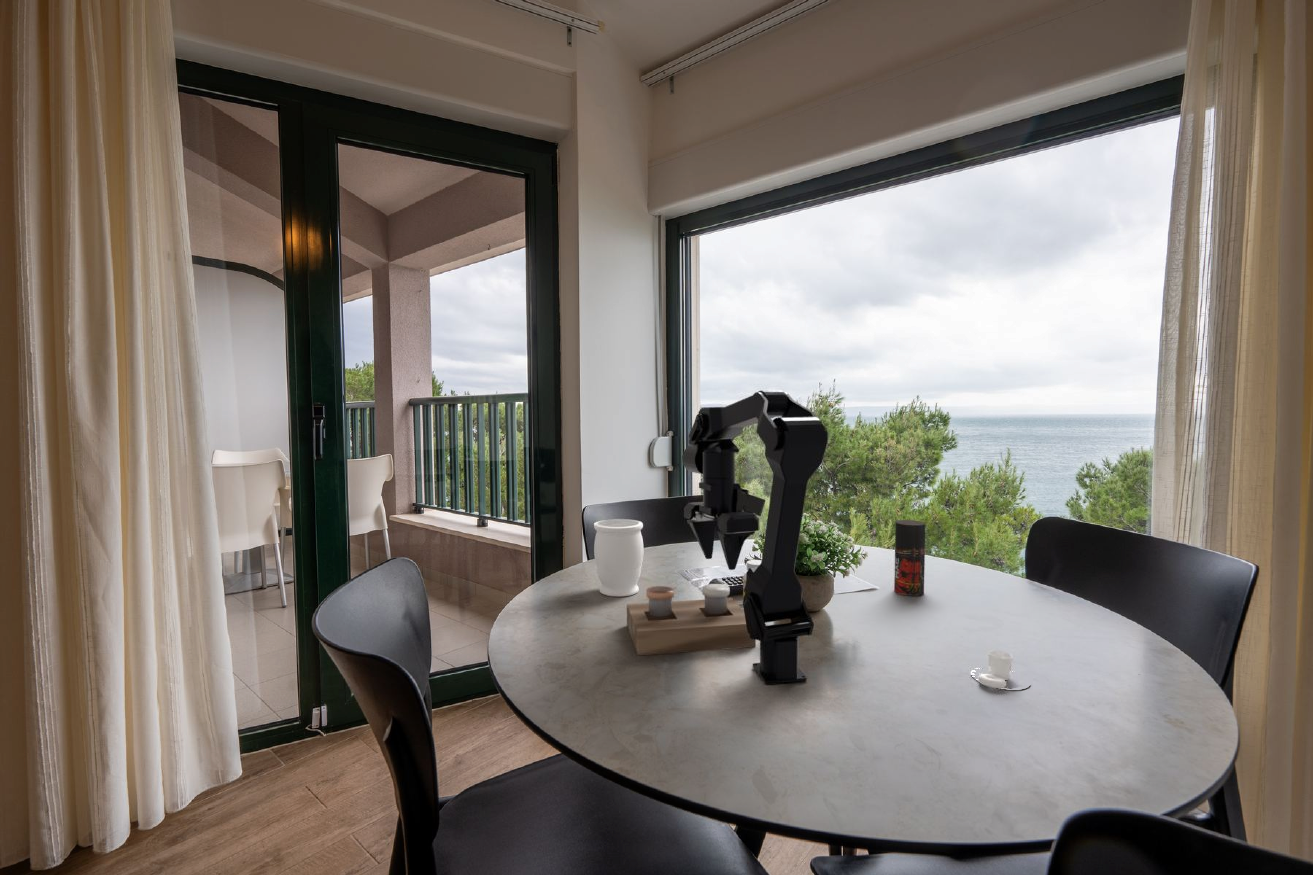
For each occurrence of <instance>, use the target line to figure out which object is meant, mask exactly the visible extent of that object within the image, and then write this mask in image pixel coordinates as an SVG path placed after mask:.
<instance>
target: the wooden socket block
mask: <svg viewBox="0 0 1313 875" xmlns="http://www.w3.org/2000/svg"><path fill="white" fill-rule="evenodd" d="M626 627H627V631H628V632H629V635H630V638H631V641H632V644H633V646H634V649H635V652H636V654H637V656H647V655H648V656H649V655H661V654H674V653H686V652H687V653H690V652H700V651H701V652H702V651H703V652H704V651H714V650H716V651H717V650H727V649H728V650H729V649H741V648H754V647H756V645H757V643H756V642H757V640H755V639H751V638H750V634H749V633H748V631H747V627H746V620H745V614H744V609H743V608H742V607H741V606H740V605H739V603H738V602H736V601H735V600H734V599H733V597H727V612H725V613H722V614H711V613H708V612H706V611H705V599H692V600H691V599H689V600H675V601H673V600H672V613H671V614H670V615H667V616H653V615H651V614H649V602H644V603H643V602H638V603H627V604H626Z"/></svg>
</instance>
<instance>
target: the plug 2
mask: <svg viewBox="0 0 1313 875" xmlns="http://www.w3.org/2000/svg"><path fill="white" fill-rule="evenodd" d="M701 588H702V590H701V591H702V592H701V594H702V595H703V596H704V600H705V611H706V612H708V613H711V614H722V613H725V612H727V598H728V597H729V596H730V594H731V593H730V592H731V590H730V586H728V585H726V584H720V583H710V584H705V585H703V586H702V587H701Z"/></svg>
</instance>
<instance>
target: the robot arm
mask: <svg viewBox="0 0 1313 875" xmlns="http://www.w3.org/2000/svg"><path fill="white" fill-rule="evenodd" d="M694 419H695V420H694V422H693V425H692V427H691V430H690V431H689V433H688V438H689V439H688V446H687V447H685V449H684V451H683V453H682V456H681V458H682V459H681V461H682V464H683V467H684V468H685V469H686V470H687V471H688V472H690V473H694V474H700V475H702V481H701V482H698V488H699V489H701V490H702V494H703V495H702V501H697V502H696V501H695V502H694V501H693V502H688V503H686V505H685V506H684V508H683V518H685V519H688V520H686V521H687V524H689V526H690V528H691V530H692V532H693V534H694V536H695V538H696V541H697V543H698V544H699V547H700V549H701V551H702V553H703V555H704V558H705V559H706V560H712V558H713V554H714V542H715V531H716V529H717V527H718V529H719V531H718V530H717V535H718V539H719V542H720V546H721V549H722V552H723V557H724V559H725V562H726V565H727V568H728V570H729V571H734V570H735V569H736V568H737V564H738V561H739V558H740V555H741V552H742V549H743V547H744V543H745V541H746V540H747V539H748V538H749V537H750V536H753V535H755V534H756V531H760V528H761V527H760V518H759V517H761V516H762V515H763V514H762V513H763V510H764V506H765V505H766V500H767V499H764V498H762V497H759V496H756V495H752V494H750V493H749V490H748V489H745V488H743V487H742V485H741V483H739V482H736V454H735V453H739V452H740V449H739V446H738V445H737V444H735V443H734V440H735V439H736V438H738V437H739V436H740V435H741V434H743V432H744V428H746V427H749V426H752V425H755V424H757V425H756V434H757V435H758V437H759V438H760V439H761V441H762V443H763V444H764V445H765V446H764V456H765V458H766V461H767V463H768V465H769V467H770V469H771V471H772V474H773V475H772V483H771V490H770V498H769V505H768V512H767V518H766V525H765V526H766V527H765V535H764V542H763V547H762V548H763V549H762V556H761V560H762V561H761V564H760V565H759V566H758V567H754V568H749V569H748V570H746V572H747V574H746V585H745V588H744V592H745V595H744V598H743V597H742V607H744V609H743V610H744V614H745V620H746V627H747V631H748V633H749V634H750V638H751V639H755V640H756V641H759V662H753V663H752V669H754V671H755V672H756V674H758V676H759V677H760V679H761V680H762V682H763V683H764V684H767V685H769V684H770V685H771V684H781V683H782V684H783V683H792V682H793V683H794V682H805V681H807V680H808V676H807V675H806V674H805V673H804V672H803V671H802V670H801V668H799V651H800V650H799V648H800V647H799V640H800V639H799V638H800V637H804V636H808V637H809V636H812V634H813V631H814V626H815V624H814V621H813V619H812V617H811V614H810V612H809V610H808V608H807V605H806V602H805V601H804V599H803V586H802V583H801V582H800V580H799V577H798V575H797V574H796V571H795V568H796V561H797V554H798V548H799V541H800V535H801V527H802V522H803V521H802V520H803V515H804V508H805V501H806V496H807V495H806V494H807V489H808V482H809V480H810V478H811V477H813V475H814V474H815V472H816V471H817V470H818V469H819V467H820V466H821V464H822V463H823V460H824V456H825V453H826V450H827V446H828V442H829V441H828V440H829V432H828V429H827V427H826V426H825V425H824V424H823V421H821V419H819V417H818V416H817V415H816V413H814V411H812V410H811V409H809V408H808V407H806V406H805V405H802V404H801V403H799V402H797V401H795V400H794V399H793V398H792V397H791V395H790V394H789V393H788V392H787V391H786V392H785V391H784V390H758V391H756V392H754V393H753V394H752V395H750V396H748V397H747V396H746V397H745V398H743V399H739V400H738V401H736V402H733V403H731V404H729V405H726V406H709V407H708V406H707V407H706V406H705V407H701V408H699V410H698V413H697V414H696V416H695V418H694ZM786 620H787V621H788V620H790V621H788V622H782V623H781V621H786ZM778 621H780V623H775V624H768V625H766V623H773V622H778Z"/></svg>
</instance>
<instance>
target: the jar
mask: <svg viewBox="0 0 1313 875" xmlns="http://www.w3.org/2000/svg"><path fill="white" fill-rule="evenodd" d="M593 527H594V530H595V531H596V533H595V537H594V545H593V546H594V547H593V548H594V549H593V552H594V562H595V566H596V574H597V577H598V580H599V582H600V584H601V586H600V587H599V592H600V594H602V595H604V596H608V597H614V598H616V597H617V598H618V597H628V596H629V597H630V596H632V595H635V594H637V593H638V592H639V590H640V589H639V588H640V587H639V586H638V584H637V583H638V582H639V579H640V576H641V574H642V573H641V572H642V565H643V561H644V560H643V559H644V540H643V535H642V532H641V530H642V529H643V528H644V523H643V522H642V521H640V520H636V519H628V518H627V519H626V518H612V519H604V520H599V521H596V522H593Z"/></svg>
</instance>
